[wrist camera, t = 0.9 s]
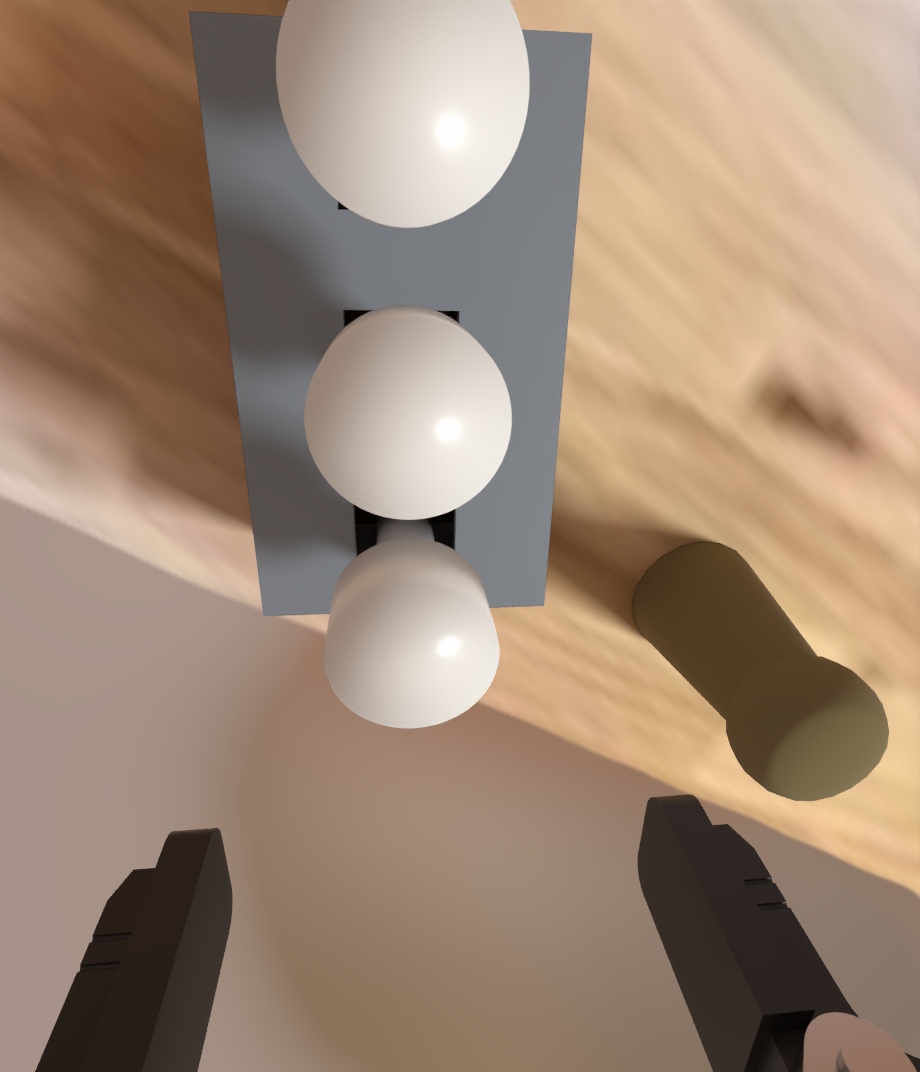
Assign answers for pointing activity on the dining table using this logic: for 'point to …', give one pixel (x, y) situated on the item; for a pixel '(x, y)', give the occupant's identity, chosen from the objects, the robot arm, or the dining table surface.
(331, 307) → the mount block
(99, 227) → the dining table surface
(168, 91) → the dining table surface
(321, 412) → the knob middle
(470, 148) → the knob near
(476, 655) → the knob far
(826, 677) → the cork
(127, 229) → the dining table surface
